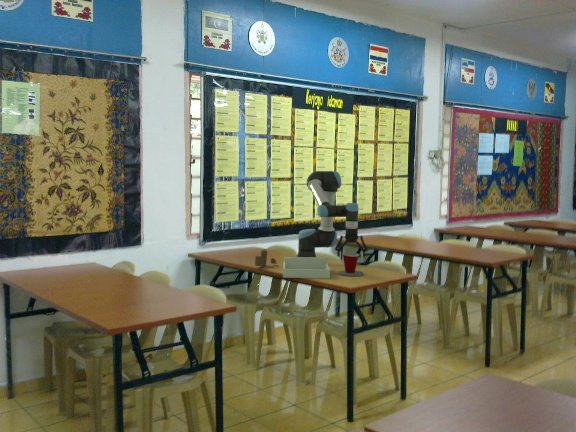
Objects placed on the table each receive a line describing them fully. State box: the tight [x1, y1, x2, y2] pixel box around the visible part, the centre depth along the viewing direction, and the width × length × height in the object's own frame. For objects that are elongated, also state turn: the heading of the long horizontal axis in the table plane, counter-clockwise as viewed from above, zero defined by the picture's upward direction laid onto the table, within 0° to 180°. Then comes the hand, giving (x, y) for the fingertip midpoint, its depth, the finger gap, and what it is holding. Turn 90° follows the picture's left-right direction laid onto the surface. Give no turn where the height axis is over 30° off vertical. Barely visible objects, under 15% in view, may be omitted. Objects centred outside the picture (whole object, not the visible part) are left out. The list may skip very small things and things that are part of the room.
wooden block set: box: [254, 249, 278, 267], centre depth 399 cm, size 18×9×10 cm, turn 145°
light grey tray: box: [282, 256, 331, 279], centre depth 375 cm, size 28×28×8 cm
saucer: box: [337, 269, 365, 278], centre depth 375 cm, size 16×16×1 cm
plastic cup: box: [341, 252, 360, 273], centre depth 375 cm, size 11×11×12 cm
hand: (350, 261), depth 375 cm, fingers open, 13 cm apart
